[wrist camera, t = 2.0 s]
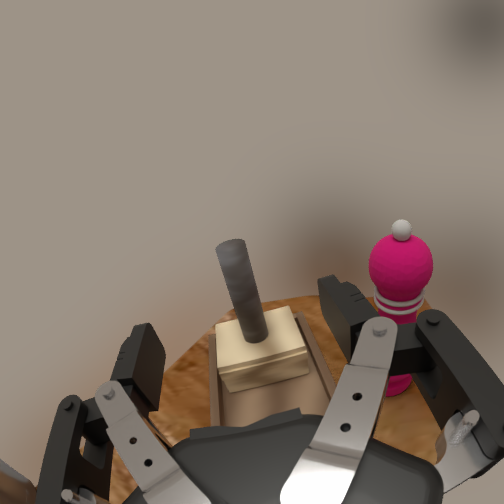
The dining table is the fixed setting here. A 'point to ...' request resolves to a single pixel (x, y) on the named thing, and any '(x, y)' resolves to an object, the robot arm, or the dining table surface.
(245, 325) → the joystick
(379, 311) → the pepper mill
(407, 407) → the dining table surface
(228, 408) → the bay
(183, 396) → the dining table surface
